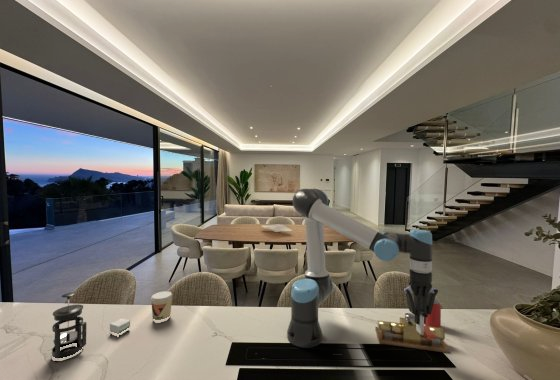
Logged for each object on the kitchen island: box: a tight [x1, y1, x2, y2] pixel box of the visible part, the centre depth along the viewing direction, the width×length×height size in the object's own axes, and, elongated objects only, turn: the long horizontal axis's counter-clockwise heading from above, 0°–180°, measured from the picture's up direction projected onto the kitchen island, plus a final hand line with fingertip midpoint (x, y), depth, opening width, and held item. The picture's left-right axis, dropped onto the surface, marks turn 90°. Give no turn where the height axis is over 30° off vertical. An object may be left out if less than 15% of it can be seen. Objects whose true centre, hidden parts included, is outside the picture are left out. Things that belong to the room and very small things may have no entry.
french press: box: [51, 292, 87, 358], centre depth 94 cm, size 12×9×23 cm
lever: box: [404, 312, 436, 340], centre depth 97 cm, size 16×4×2 cm, turn 2°
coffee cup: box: [150, 290, 173, 320], centre depth 119 cm, size 9×9×12 cm
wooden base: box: [374, 317, 450, 354], centre depth 104 cm, size 26×10×9 cm, turn 77°
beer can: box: [424, 299, 442, 328], centre depth 115 cm, size 7×7×12 cm
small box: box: [109, 317, 131, 334], centre depth 108 cm, size 6×6×5 cm
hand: (419, 332), depth 93 cm, fingers closed
